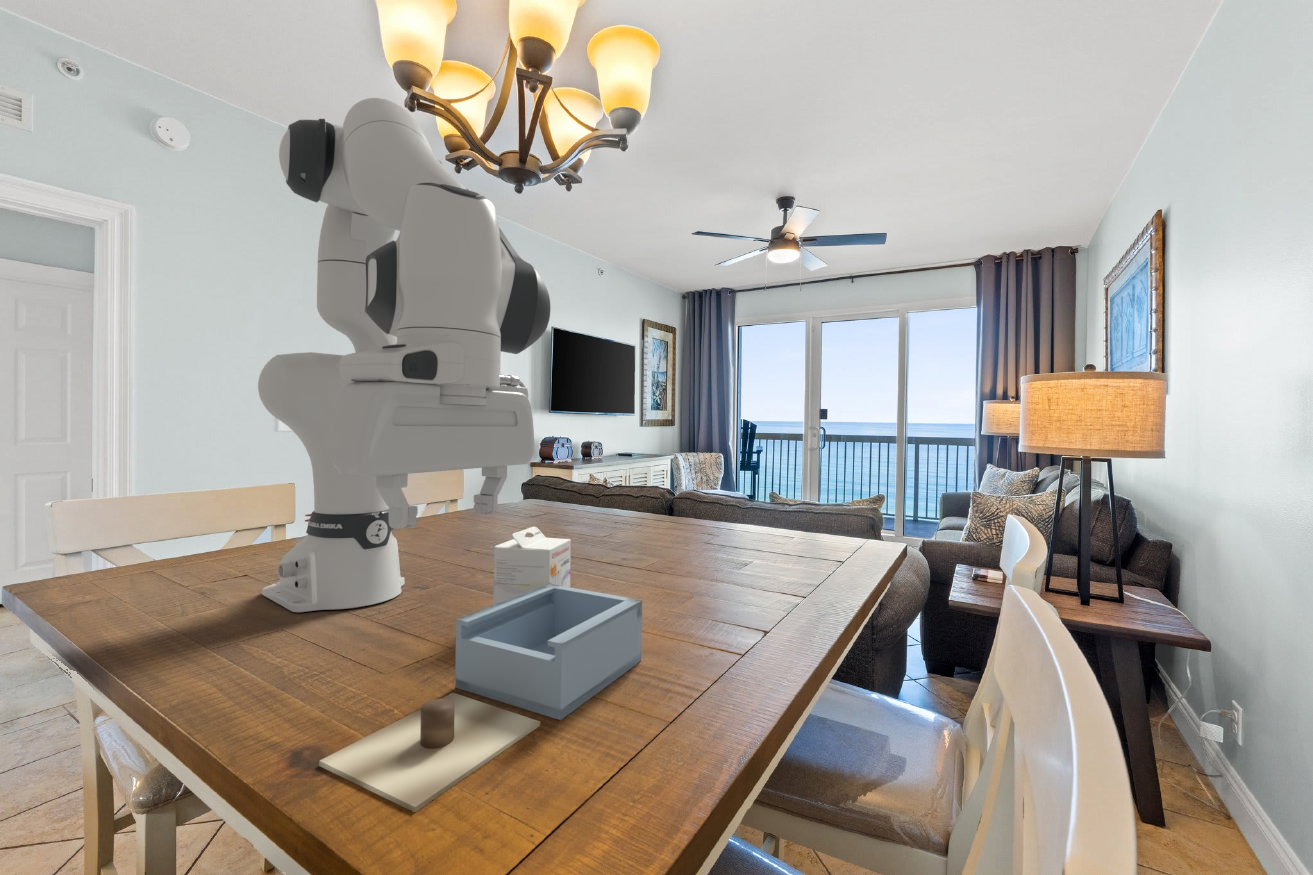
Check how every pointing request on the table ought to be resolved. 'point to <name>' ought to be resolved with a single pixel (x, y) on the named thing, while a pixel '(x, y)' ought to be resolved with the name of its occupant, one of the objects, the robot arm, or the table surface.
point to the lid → (429, 749)
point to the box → (548, 648)
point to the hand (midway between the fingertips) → (447, 519)
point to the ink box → (530, 564)
